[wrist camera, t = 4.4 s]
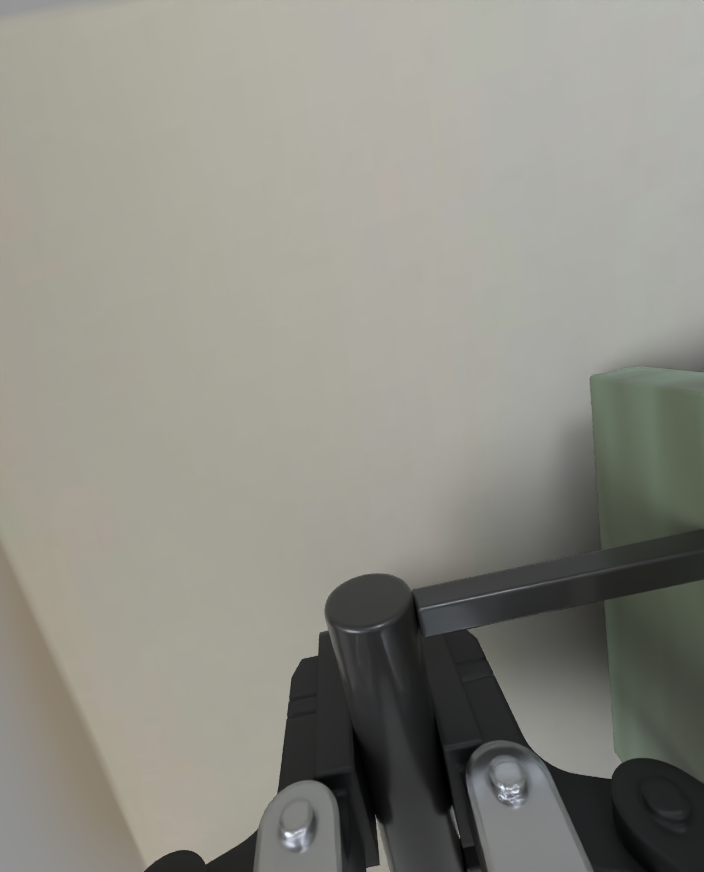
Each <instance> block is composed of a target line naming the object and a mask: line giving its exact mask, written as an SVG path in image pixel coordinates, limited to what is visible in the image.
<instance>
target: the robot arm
mask: <svg viewBox="0 0 704 872" xmlns="http://www.w3.org/2000/svg"><path fill="white" fill-rule="evenodd" d="M418 627H419V626H418ZM419 632H420V630H419ZM420 638H421V643H422V648H423V653H424V658H425V663H426V669H427V674H428V679H429V684H430V689H431V695H432V700H433V705H434V715H435V720H436V726H437V731H438V736H439V741H440V746H441V751H442V756H443V761H444V766H445V771H446V777H447V782H448V787H449V792H450V797H451V802H452V807H453V811H454V815H455V818H456V822H457V826H458V830H459V834H460V838H461V842H462V846H463V848H465V847H470V846H475V849H476V852H477V856H478V860H479V863H480V867H481V870H482V872H704V784H703V783H702V782H700V781H699V780H697V779H696V778H694V777H692V776H691V775H689V774H688V773H686V772H684V771H683V770H681V769H679V768H677V767H676V766H673V765H671V764H669V763H666V762H663V761H660V760H656V759H651V758H634V759H630V760H627V761H625V762H623V763H622V764H620V765H619V766H618V767H617V768H616V769H615V771H614V773H613V775H612V779H606V778H599V777H592V776H585V775H578V774H573V773H569V772H566V771H563V770H561V769H558V768H556V767H554V766H552V765H551V764H549V763H548V762H546V761H544V760H543V759H542V758H541V757H540V756H538V755H537V754H536V753H535V752H534V751H533V750H532V749H531V747H530V746H529V745H528V743H527V742H526V740H525V738H524V737H523V735H522V732H521V730H520V728H519V726H518V724H517V722H516V720H515V718H514V716H513V714H512V711H511V709H510V707H509V705H508V703H507V701H506V699H505V697H504V695H503V692H502V690H501V688H500V686H499V684H498V682H497V680H496V678H495V676H494V675H493V671H492V669H491V667H490V665H489V663H488V661H487V660H486V657H485V655H484V652H483V650H482V648H481V646H480V644H479V642H478V640H477V638H475V637H474V636H473V635H472V634H471V633H470V632H468V631H467V630H461V631H456V632H452V633H447V634H442V635H437V636H433V637H428V638H424V637H423V636H422V635H421V633H420ZM289 699H290V702H289V704H288V713H287V716H288V719H287V721H286V729H285V738H284V746H283V754H282V763H281V771H280V779H279V787H278V792H277V795H276V796H275V797H274V798H273V800H272V801H271V802H270V803H269V805H268V807H267V808H266V810H265V812H264V814H263V816H262V818H261V821H260V824H259V828H258V829H257V830H256V831H255V832H254V833H253V834H252V835H251V836H250V837H249V838H248V839H247V840H245V841H244V842H242V843H241V844H239V845H238V846H236V847H234V848H233V849H231V850H229V851H228V852H226V853H224V854H223V855H221V856H219V857H218V858H216V859H214V860H213V861H211V862H209V863H208V864H206V865H205V863H204V861H203V859H202V858H201V857H200V856H199V855H198V854H197V853H195V852H192V851H188V850H180V851H175V852H172V853H169V854H167V855H165V856H163V857H162V858H160V859H159V860H157V861H156V862H154V863H153V864H152V865H151V866H149V867H148V868H147V869H146V870H145V871H144V872H366V868H368V867H373V866H377V865H380V862H379V851H378V840H377V828H376V817H375V811H374V807H373V803H372V799H371V795H370V791H369V787H368V783H367V779H366V775H365V771H364V767H363V763H362V760H361V756H360V752H359V748H358V744H357V740H356V736H355V732H354V728H353V724H352V720H351V716H350V712H349V708H348V704H347V701H346V697H345V693H344V689H343V685H342V681H341V677H340V673H339V669H338V665H337V661H336V657H335V653H334V649H333V645H332V641H331V638H330V634H329V631H324V632H320V634H319V652H318V656H314V657H310V658H305V659H302V660H301V662H300V664H299V665H298V667H297V669H296V671H295V673H294V674H293V676H292V679H291V687H290V696H289Z"/></svg>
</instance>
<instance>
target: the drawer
mask: <svg viewBox="0 0 704 872" xmlns="http://www.w3.org/2000/svg"><path fill="white" fill-rule="evenodd" d="M590 391H591V406H592V421H593V436H594V452H595V467H596V482H597V497H598V512H599V527H600V542H601V550H598V551H593V552H589V553H584V554H579V555H574V556H569V557H565V558H560V559H555V560H550V561H546V562H541V563H536V564H531V565H526V566H522V567H517V568H512V569H507V570H503V571H498V572H493V573H488V574H483V575H479V576H474V577H469V578H464V579H460V580H455V581H450V582H445V583H440V584H436V585H431V586H426V587H421V588H417V589H413V590H412V592H411V590H410V588H409V587H408V586H407V584H406V583H405V582H404V581H403V580H401V579H400V578H398V577H395V576H393V575H389V574H380V573H376V574H366V575H362V576H358V577H355V578H352V579H350V580H348V581H346V582H344V583H343V584H341V585H340V586H338V587H337V588H336V589H335V590H334V591H333V592H332V593H331V594H330V596H329V597H328V599H327V602H326V605H325V618H326V622H327V626H328V630H329V634H330V638H331V641H332V645H333V649H334V653H335V657H336V661H337V665H338V669H339V673H340V677H341V681H342V685H343V689H344V693H345V697H346V701H347V704H348V708H349V712H350V716H351V720H352V724H353V728H354V732H355V736H356V740H357V744H358V748H359V752H360V756H361V760H362V763H363V767H364V771H365V775H366V779H367V783H368V787H369V791H370V795H371V799H372V803H373V807H374V811H375V815H376V819H377V822H378V826H379V830H380V834H381V838H382V842H383V846H384V850H385V854H386V858H387V862H388V866H389V870H390V872H482V870H481V867H480V863H479V860H478V856H477V852H476V849H475V846H470V847H465V848H463V846H462V842H461V838H460V839H459V835H458V829H457V824H456V819H455V815H454V811H453V807H452V802H451V797H450V792H449V787H448V782H447V777H446V771H445V766H444V761H443V756H442V751H441V746H440V741H439V736H438V731H437V726H436V720H435V715H434V705H433V700H432V695H431V689H430V684H429V679H428V674H427V669H426V663H425V658H424V653H423V648H422V643H421V638H420V633H421V635H422V636H423V637H424V638H428V637H433V636H437V635H442V634H447V633H452V632H456V631H461V630H466V629H471V628H476V627H480V626H485V625H490V624H495V623H499V622H504V621H509V620H514V619H519V618H523V617H528V616H533V615H538V614H542V613H547V612H552V611H557V610H562V609H566V608H571V607H576V606H581V605H586V604H590V603H595V602H600V601H604V602H605V618H606V633H607V648H608V663H609V678H610V693H611V708H612V723H613V738H614V750H615V753H616V754H617V756H618V757H619V759H620V760H621V761H622V763H623V762H625V761H627V760H630V759H634V758H651V759H656V760H660V761H663V762H666V763H669V764H671V765H673V766H676V767H677V768H679V769H681V770H683V771H684V772H686V773H688V774H689V775H691V776H692V777H694V778H696V779H697V780H699V781H700V782H702V783H703V784H704V372H694V371H684V370H674V369H663V368H653V367H643V366H634V367H629V368H625V369H620V370H615V371H610V372H606V373H601V374H596V375H593V376H591V377H590ZM418 626H419V627H418ZM419 630H420V632H419Z"/></svg>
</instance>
